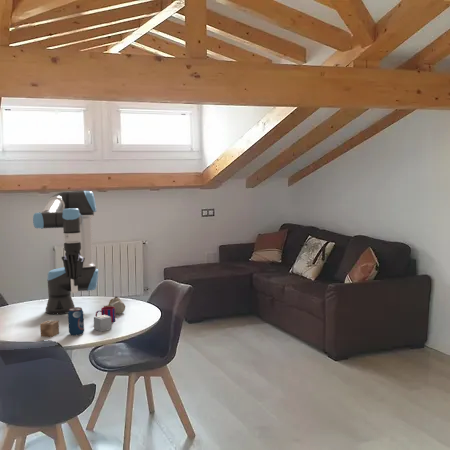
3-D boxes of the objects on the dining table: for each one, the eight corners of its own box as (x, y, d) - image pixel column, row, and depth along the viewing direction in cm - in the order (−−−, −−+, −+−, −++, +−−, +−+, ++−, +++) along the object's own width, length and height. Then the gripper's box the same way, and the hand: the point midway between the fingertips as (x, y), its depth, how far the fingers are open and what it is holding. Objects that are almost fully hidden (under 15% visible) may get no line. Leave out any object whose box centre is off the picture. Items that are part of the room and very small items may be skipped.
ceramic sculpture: (109, 299, 295) (102, 295, 308) (110, 316, 295) (102, 311, 308) (129, 297, 299) (121, 293, 313) (130, 313, 300) (121, 309, 313)
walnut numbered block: (40, 336, 262) (40, 323, 261) (47, 332, 268) (46, 319, 267) (52, 337, 260) (52, 323, 260) (59, 333, 266) (58, 320, 266)
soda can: (82, 335, 261) (81, 310, 260) (67, 336, 261) (66, 310, 260) (85, 331, 268) (84, 306, 267) (70, 332, 268) (69, 307, 266)
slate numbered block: (94, 329, 272) (93, 316, 272) (105, 326, 276) (104, 314, 276) (100, 331, 268) (100, 318, 267) (111, 329, 272) (111, 316, 271)
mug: (117, 321, 284) (116, 308, 283) (97, 324, 279) (97, 311, 279) (112, 318, 290) (112, 305, 289) (93, 321, 285) (93, 308, 284)
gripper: (56, 242, 261) (58, 292, 263) (76, 243, 254) (78, 295, 256) (68, 240, 268) (70, 289, 270) (88, 241, 261) (90, 292, 263)
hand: (74, 292), depth 263 cm, fingers closed
